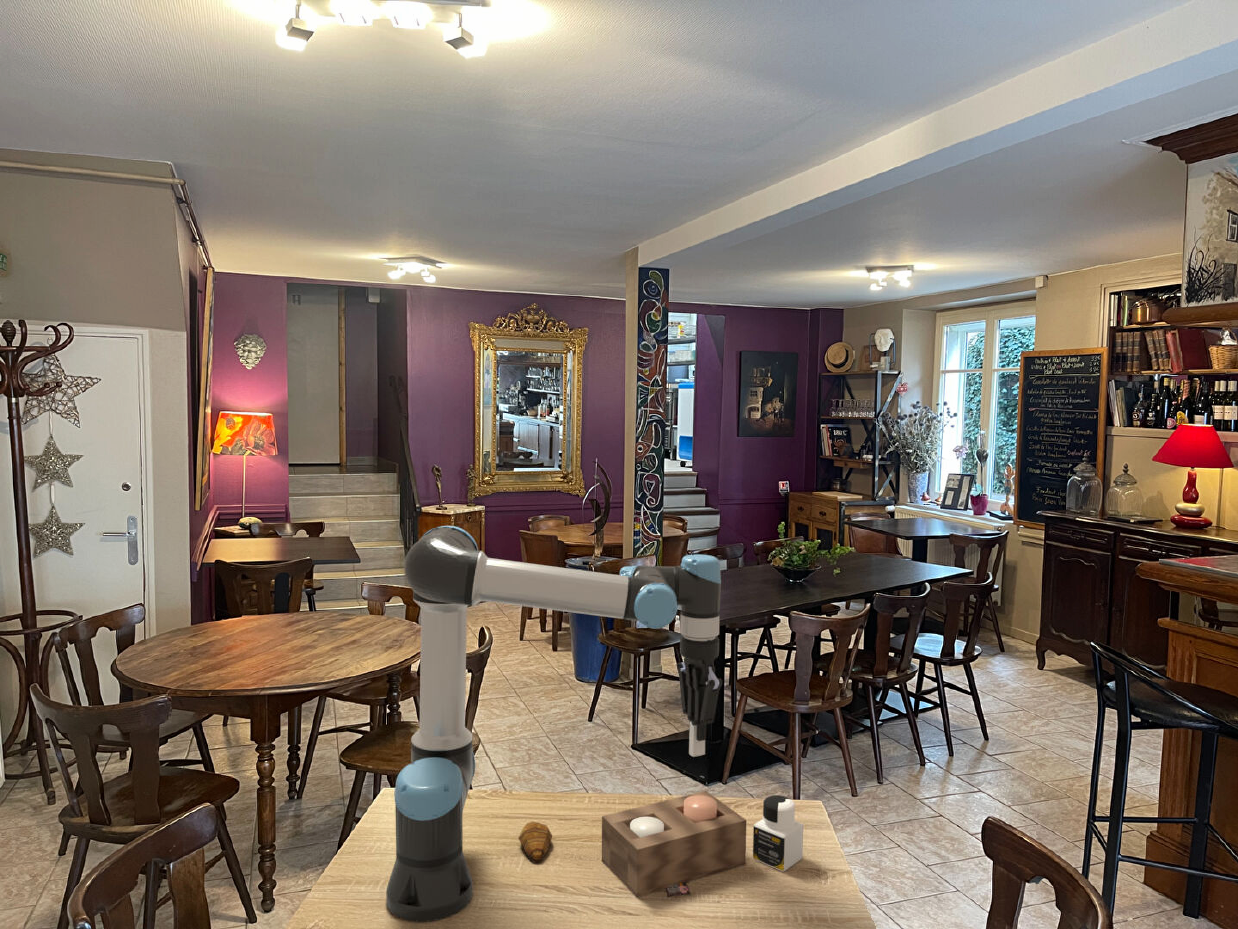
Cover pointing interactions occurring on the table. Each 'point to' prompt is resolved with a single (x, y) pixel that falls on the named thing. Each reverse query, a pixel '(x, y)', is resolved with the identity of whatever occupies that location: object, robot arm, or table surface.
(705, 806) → the pink egg shaped ball
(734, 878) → the table surface
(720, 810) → the wooden egg holder
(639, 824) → the white egg in box
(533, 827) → the croissant
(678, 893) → the chocolate bar
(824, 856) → the table surface
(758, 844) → the medicine bottle
